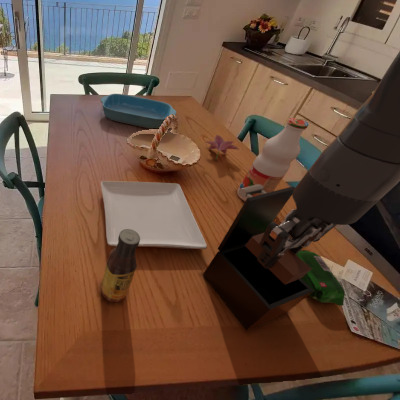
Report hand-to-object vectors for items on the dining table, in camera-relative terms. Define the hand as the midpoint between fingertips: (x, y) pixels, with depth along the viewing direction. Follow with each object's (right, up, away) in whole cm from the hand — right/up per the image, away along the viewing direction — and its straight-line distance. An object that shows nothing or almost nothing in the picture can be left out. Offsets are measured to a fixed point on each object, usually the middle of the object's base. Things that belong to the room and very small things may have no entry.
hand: (273, 259), depth 45 cm
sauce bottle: (-24, -12, +19) cm, 33 cm away
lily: (+25, +29, +68) cm, 78 cm away
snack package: (+26, -11, +25) cm, 37 cm away
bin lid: (+6, +5, +13) cm, 16 cm away
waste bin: (+8, -13, +21) cm, 25 cm away
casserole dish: (-5, +51, +90) cm, 104 cm away
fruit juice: (+27, +11, +49) cm, 57 cm away
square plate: (-12, +4, +38) cm, 40 cm away
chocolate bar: (0, 0, 0) cm, 0 cm away
